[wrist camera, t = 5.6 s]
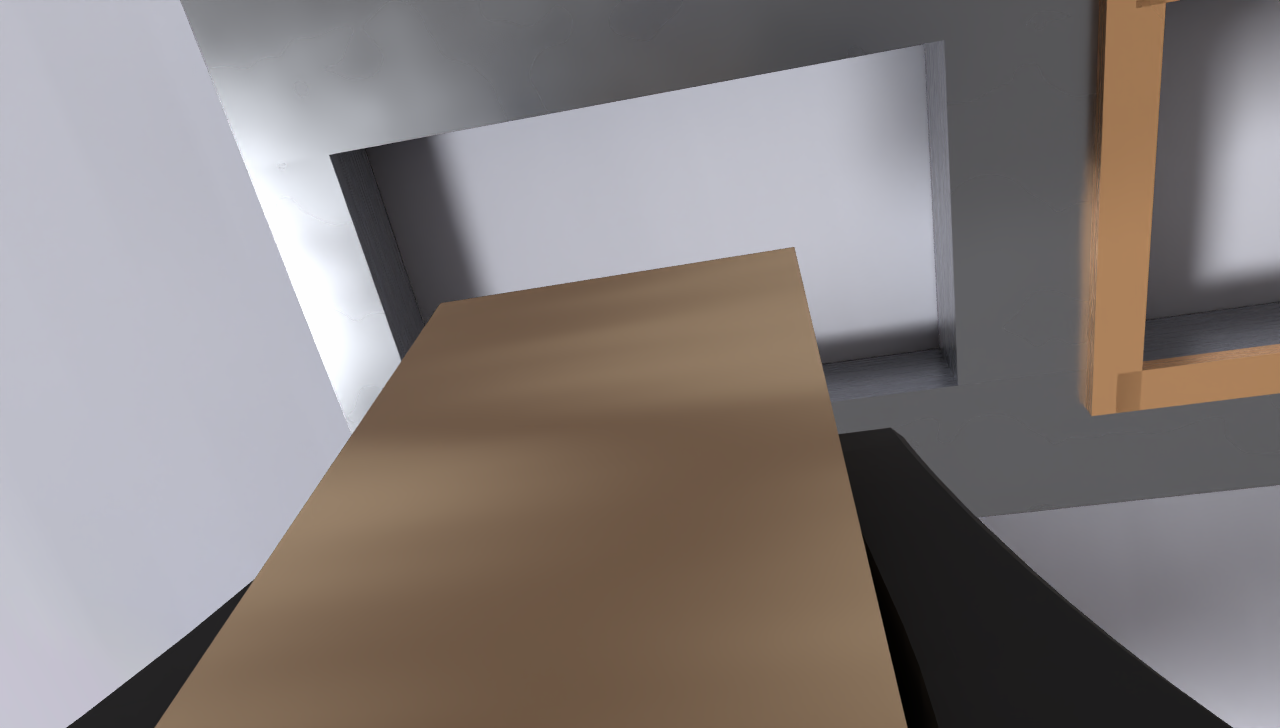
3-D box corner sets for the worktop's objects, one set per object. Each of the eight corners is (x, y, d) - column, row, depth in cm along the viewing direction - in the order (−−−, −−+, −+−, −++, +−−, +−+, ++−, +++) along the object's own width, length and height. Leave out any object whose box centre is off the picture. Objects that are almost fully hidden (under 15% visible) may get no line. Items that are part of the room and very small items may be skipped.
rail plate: (428, 535, 20) (403, 588, 19) (219, -26, 15) (162, -17, 14) (1751, 382, 17) (1862, 433, 15) (2088, -443, 11) (2316, -500, 10)
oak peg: (527, 575, 12) (327, 1305, 6) (440, 303, 10) (14, 933, 4) (831, 542, 11) (975, 1319, 5) (794, 246, 10) (946, 888, 3)
